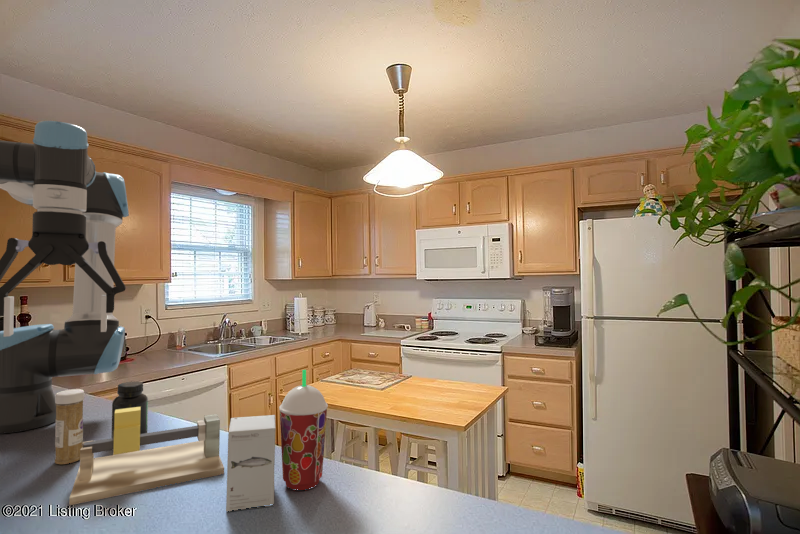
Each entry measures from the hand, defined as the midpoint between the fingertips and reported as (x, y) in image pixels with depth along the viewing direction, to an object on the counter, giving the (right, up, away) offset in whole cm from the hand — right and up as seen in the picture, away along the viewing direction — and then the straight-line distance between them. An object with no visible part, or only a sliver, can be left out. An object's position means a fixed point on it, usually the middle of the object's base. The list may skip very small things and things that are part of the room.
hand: (58, 333), depth 79 cm
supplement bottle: (0, -27, +20) cm, 33 cm away
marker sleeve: (+11, -21, +3) cm, 24 cm away
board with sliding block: (+14, -26, +4) cm, 30 cm away
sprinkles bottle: (-4, -26, +8) cm, 28 cm away
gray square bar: (+14, -21, +5) cm, 26 cm away
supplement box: (+36, -27, -5) cm, 45 cm away
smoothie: (+43, -27, 0) cm, 51 cm away
